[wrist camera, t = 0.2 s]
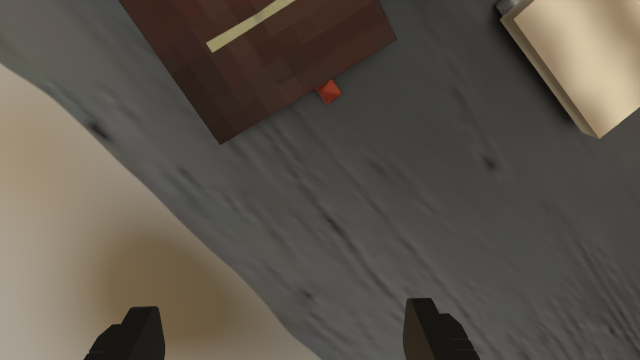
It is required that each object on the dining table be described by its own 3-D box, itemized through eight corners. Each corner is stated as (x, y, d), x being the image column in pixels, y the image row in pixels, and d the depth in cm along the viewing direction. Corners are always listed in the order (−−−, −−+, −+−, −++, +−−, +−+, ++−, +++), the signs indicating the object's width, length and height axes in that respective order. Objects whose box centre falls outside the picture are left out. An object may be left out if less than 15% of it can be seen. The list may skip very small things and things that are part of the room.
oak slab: (581, 132, 39) (599, 138, 37) (499, 19, 35) (513, 19, 33) (696, 40, 36) (722, 41, 34) (621, -93, 32) (645, -102, 30)
